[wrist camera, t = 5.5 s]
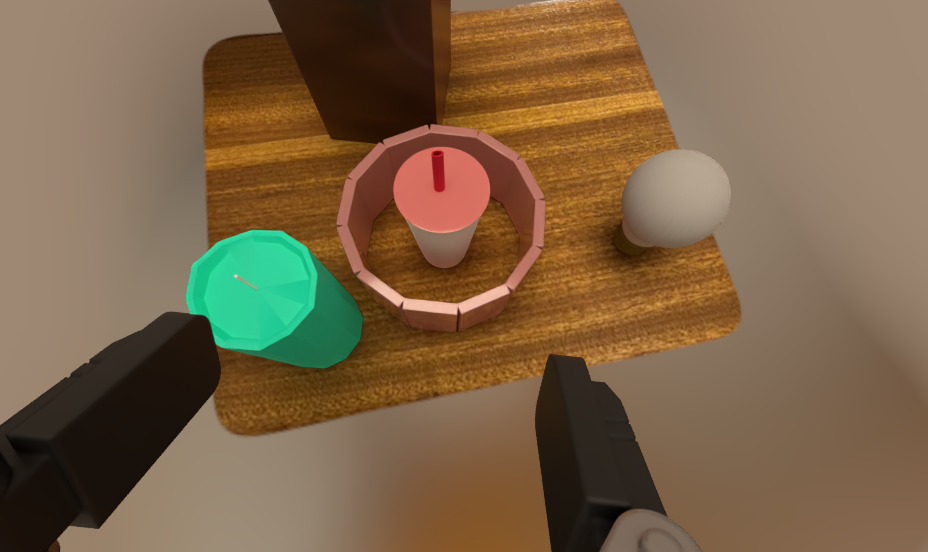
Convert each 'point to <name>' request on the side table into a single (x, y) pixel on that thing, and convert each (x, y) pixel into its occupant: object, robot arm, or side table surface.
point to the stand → (371, 62)
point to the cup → (442, 201)
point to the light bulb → (672, 202)
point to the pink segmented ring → (375, 191)
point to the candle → (274, 300)
